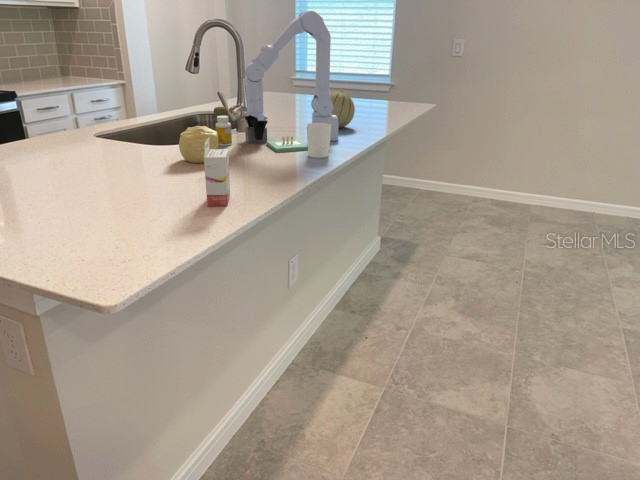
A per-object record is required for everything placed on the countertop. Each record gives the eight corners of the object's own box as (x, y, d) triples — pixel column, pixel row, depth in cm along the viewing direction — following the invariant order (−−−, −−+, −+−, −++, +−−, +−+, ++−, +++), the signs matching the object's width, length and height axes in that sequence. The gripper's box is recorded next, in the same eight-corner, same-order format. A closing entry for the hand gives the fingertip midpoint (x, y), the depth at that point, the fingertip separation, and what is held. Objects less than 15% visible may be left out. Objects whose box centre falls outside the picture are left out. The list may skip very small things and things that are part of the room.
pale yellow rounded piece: (185, 167, 147) (182, 130, 143) (176, 158, 157) (173, 123, 152) (223, 163, 152) (221, 127, 147) (212, 154, 161) (209, 121, 157)
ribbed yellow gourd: (313, 129, 204) (313, 91, 198) (326, 123, 216) (327, 87, 210) (347, 132, 199) (348, 93, 193) (358, 126, 211) (360, 89, 205)
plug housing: (264, 139, 183) (263, 126, 181) (267, 142, 180) (266, 128, 178) (245, 141, 181) (245, 127, 179) (248, 143, 177) (247, 129, 175)
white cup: (333, 154, 165) (334, 123, 161) (326, 159, 158) (326, 128, 154) (311, 151, 167) (311, 122, 163) (303, 157, 160) (303, 126, 156)
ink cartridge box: (228, 206, 116) (224, 144, 110) (206, 206, 115) (202, 144, 110) (231, 195, 124) (228, 136, 118) (211, 195, 123) (207, 136, 117)
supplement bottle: (213, 144, 175) (211, 116, 171) (225, 142, 179) (224, 114, 175) (222, 146, 172) (221, 118, 168) (235, 144, 175) (233, 116, 172)
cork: (226, 138, 184) (225, 108, 179) (211, 137, 185) (209, 107, 180) (232, 135, 189) (231, 106, 185) (217, 134, 190) (215, 105, 186)
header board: (298, 142, 180) (298, 132, 179) (310, 149, 170) (310, 138, 169) (266, 144, 176) (266, 134, 175) (276, 152, 166) (276, 141, 164)
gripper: (239, 96, 179) (240, 134, 185) (249, 102, 167) (250, 142, 172) (257, 96, 182) (259, 133, 187) (269, 101, 169) (270, 141, 175)
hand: (256, 137), depth 180 cm, fingers open, 7 cm apart
